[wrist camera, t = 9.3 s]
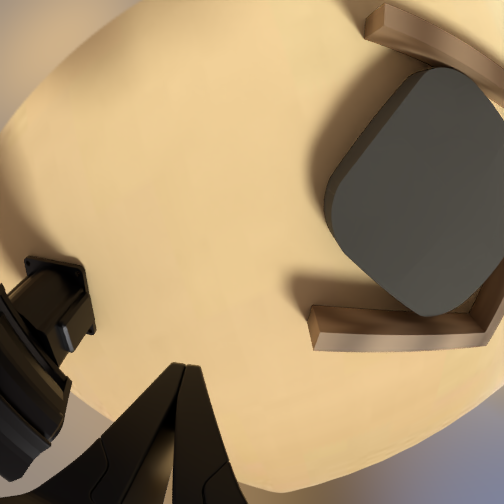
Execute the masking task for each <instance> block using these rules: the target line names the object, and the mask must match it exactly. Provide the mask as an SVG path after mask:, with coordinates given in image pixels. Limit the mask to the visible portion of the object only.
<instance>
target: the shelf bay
mask: <svg viewBox="0 0 504 504" xmlns="http://www.w3.org/2000/svg"><path fill="white" fill-rule="evenodd" d="M364 39H365V40H368V41H371V42H374V43H377V44H380V45H383V46H386V47H388V48H391V49H394V50H396V51H399V52H401V53H404V54H406V55H409V56H411V57H413V58H416V59H418V60H420V61H422V62H424V63H427V64H429V65H431V66H433V67H435V68H450V69H453V70H456V71H458V72H460V73H462V74H464V75H466V76H467V77H468V78H470V79H471V80H472V81H473V82H474V83H475V84H476V85H477V86H478V87H479V88H480V89H481V91H482V92H483V93H484V94H485V95H486V97H488V98H490V99H491V100H493V101H494V102H496V103H497V104H498V105H500V106H501V107H503V108H504V69H503V68H501V67H500V66H499V65H498V64H496V63H495V62H493V61H492V60H491V59H489V58H488V57H486V56H485V55H484V54H482V53H481V52H479V51H478V50H476V49H475V48H473V47H472V46H470V45H468V44H467V43H465V42H464V41H462V40H460V39H459V38H457V37H455V36H454V35H452V34H450V33H448V32H447V31H445V30H443V29H441V28H439V27H437V26H435V25H434V24H432V23H430V22H428V21H426V20H424V19H422V18H419V17H417V16H415V15H413V14H411V13H409V12H406V11H404V10H402V9H399V8H397V7H394V6H392V5H389V4H387V3H384V4H383V5H382V6H380V7H379V8H378V9H377V10H375V11H374V12H373V13H372V14H371V15H369V16H368V17H367V18H366V24H365V37H364ZM503 316H504V257H503V259H502V260H501V262H500V263H499V265H498V266H497V267H496V269H495V270H494V271H493V272H492V274H491V275H490V276H489V277H488V278H487V280H486V281H485V282H484V283H483V285H482V288H481V290H480V292H479V294H478V296H477V298H476V301H475V303H474V305H473V307H472V309H471V311H470V313H469V314H467V313H444V314H441V315H437V316H432V317H425V316H420V315H419V314H417V313H415V312H405V311H386V310H370V309H355V308H342V307H329V306H318V305H312V308H311V312H310V315H309V318H308V322H307V324H308V328H309V333H310V337H311V342H312V346H313V351H333V352H411V351H432V350H448V349H460V348H471V347H480V346H486V345H487V344H488V342H489V341H490V339H491V337H492V335H493V334H494V332H495V330H496V329H497V327H498V325H499V323H500V321H501V319H502V318H503Z"/></svg>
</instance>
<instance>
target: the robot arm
mask: <svg viewBox="0 0 504 504" xmlns="http://www.w3.org/2000/svg"><path fill="white" fill-rule="evenodd" d="M24 263H25V268H26V272H27V277H26V278H24V279H23V280H22V281H21V282H20V283H19V284H18V285H17V286H16V287H15V288H13V289H12V290H11V291H10V292H9V293H8V294H6V292H5V288H4V286H3V284H2V283H1V284H0V475H1V476H2V477H3V478H5V479H6V480H7V481H9V482H12V481H14V480H17V479H19V478H21V477H22V476H23V475H24V473H25V472H26V470H27V469H28V467H29V466H30V464H31V463H32V462H33V460H34V459H35V458H36V457H37V456H38V455H39V454H40V453H42V452H43V451H45V450H46V449H48V448H49V447H50V446H51V442H52V441H53V440H54V439H55V437H56V436H57V435H58V434H59V432H60V430H61V428H62V426H63V422H64V417H65V412H66V407H67V403H68V398H69V393H70V389H71V385H72V381H71V380H70V379H69V377H68V376H65V374H64V373H63V372H62V371H61V370H60V369H59V367H60V365H61V364H62V362H63V360H64V359H65V357H66V356H67V354H68V353H69V352H71V353H73V352H74V351H75V349H76V348H77V346H78V345H79V343H80V342H81V340H82V339H83V337H84V336H85V334H89V335H94V334H95V332H96V325H95V318H94V313H93V308H92V303H91V298H90V295H89V291H88V285H87V279H86V272H85V270H84V268H83V267H82V266H80V265H74V264H69V263H64V262H58V261H53V260H48V259H43V258H38V257H33V256H28V257H26V258H25V259H24ZM78 271H79V272H80V274H79V273H78ZM172 466H173V488H172V491H173V492H172V495H173V496H172V504H248V502H247V500H246V498H245V497H244V495H243V493H242V491H241V489H240V487H239V484H238V482H237V479H236V477H235V475H234V472H233V469H232V466H231V463H230V462H229V458H228V455H227V452H226V449H225V446H224V443H223V440H222V437H221V434H220V431H219V428H218V425H217V421H216V418H215V415H214V412H213V408H212V405H211V402H210V398H209V395H208V391H207V388H206V384H205V381H204V377H203V373H202V370H201V367H200V366H199V365H191V364H188V365H187V366H186V365H185V364H183V363H176V362H173V363H171V364H170V365H169V366H168V367H167V368H166V369H165V370H164V371H163V372H162V373H161V374H160V375H159V377H158V378H157V379H156V380H155V381H154V382H153V383H152V384H151V385H150V386H149V387H148V388H147V389H146V390H145V391H144V392H143V393H142V394H141V395H140V396H139V397H138V398H137V399H136V400H135V402H134V403H133V404H132V405H131V406H130V407H129V408H128V409H127V410H126V411H125V412H124V413H123V414H122V415H121V416H120V417H119V418H118V419H117V420H116V421H115V422H114V423H113V424H112V425H111V426H110V427H109V428H108V429H107V430H106V431H105V432H104V433H103V434H102V435H101V438H98V439H97V440H96V441H95V442H94V443H93V444H92V445H91V446H90V447H89V448H88V449H87V450H86V451H85V452H84V453H83V454H82V455H81V456H79V457H78V458H77V459H76V460H75V461H73V462H72V463H71V464H70V465H68V466H67V467H66V468H64V469H63V470H62V471H60V472H59V473H57V474H56V475H55V476H53V477H52V478H51V479H49V480H48V481H46V482H45V483H44V484H42V485H41V486H39V487H38V488H36V489H34V490H32V491H30V492H28V493H25V494H22V495H17V496H10V497H3V498H0V504H163V502H164V498H165V494H166V490H167V486H168V482H169V478H170V474H171V470H172Z"/></svg>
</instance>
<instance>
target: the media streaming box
mask: <svg viewBox="0 0 504 504" xmlns="http://www.w3.org/2000/svg"><path fill="white" fill-rule="evenodd" d="M324 212H325V218H326V222H327V225H328V228H329V230H330V232H331V234H332V235H333V237H334V238H335V240H336V242H337V243H338V245H339V246H340V248H341V249H342V251H343V252H344V253H345V254H346V255H347V256H348V257H349V258H350V259H351V260H352V261H353V262H354V263H355V264H356V265H357V266H358V267H359V268H361V269H362V270H363V271H364V272H365V273H366V274H367V275H368V276H369V277H371V278H372V279H373V280H374V281H375V282H376V283H377V284H379V285H380V286H381V287H382V288H383V289H385V290H386V291H387V292H388V293H389V294H391V295H392V296H393V297H394V298H396V299H397V300H398V301H400V302H401V303H402V304H404V305H405V306H406V307H408V308H409V309H411V310H412V311H414V312H415V313H417V314H419V315H420V316H425V317H432V316H437V315H441V314H444V313H446V312H449V311H451V310H453V309H455V308H456V307H458V306H459V305H461V304H462V303H463V302H464V301H466V300H467V299H468V298H469V297H470V296H471V295H472V294H473V293H474V292H475V291H476V290H477V289H478V288H479V287H480V286H481V285H482V284H483V283H484V282H485V281H486V280H487V278H488V277H489V276H490V275H491V274H492V272H493V271H494V270H495V269H496V267H497V266H498V265H499V263H500V262H501V260H502V259H503V257H504V121H503V119H502V117H501V116H500V114H499V113H498V111H497V110H496V109H495V107H494V106H493V104H492V103H491V102H490V100H489V99H488V98H487V97H486V95H485V94H484V93H483V92H482V91H481V89H480V88H479V87H478V86H477V85H476V84H475V83H474V82H473V81H472V80H471V79H470V78H468V77H467V76H466V75H464V74H462V73H460V72H458V71H456V70H453V69H450V68H434V69H429V70H424V71H420V72H417V73H414V74H412V75H411V76H409V77H408V78H407V79H406V80H405V81H404V83H403V84H402V85H401V86H400V87H399V88H398V89H397V90H396V92H395V93H394V94H393V95H392V96H391V97H390V99H389V100H388V101H387V102H386V103H385V105H384V106H383V107H382V108H381V110H380V111H379V112H378V113H377V115H376V116H375V117H374V118H373V120H372V121H371V122H370V123H369V125H368V126H367V127H366V129H365V130H364V131H363V133H362V134H361V135H360V137H359V138H358V139H357V141H356V142H355V143H354V145H353V146H352V147H351V149H350V150H349V152H348V153H347V154H346V156H345V157H344V158H343V160H342V161H341V163H340V164H339V166H338V167H337V168H336V170H335V171H334V173H333V174H332V176H331V177H330V180H329V182H328V185H327V188H326V192H325V198H324Z"/></svg>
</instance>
